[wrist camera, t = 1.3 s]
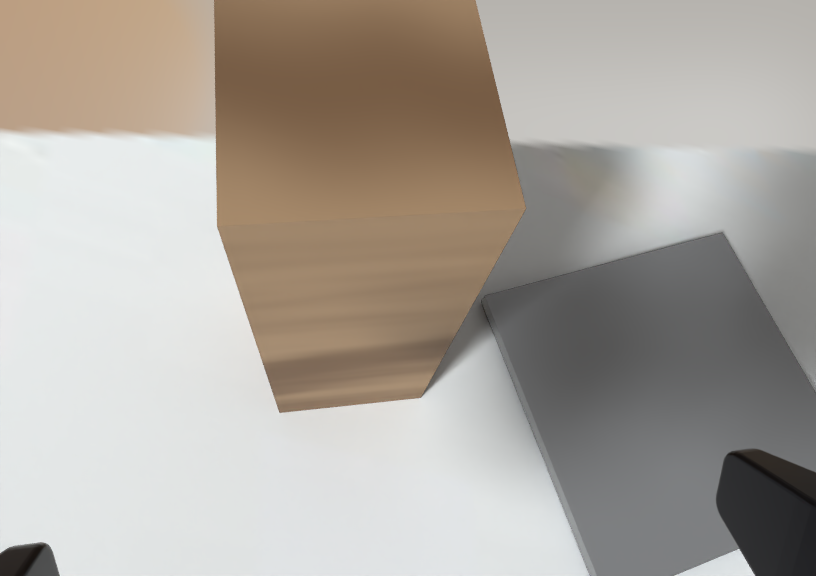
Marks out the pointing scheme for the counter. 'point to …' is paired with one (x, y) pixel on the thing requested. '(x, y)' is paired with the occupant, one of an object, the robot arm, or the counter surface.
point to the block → (358, 187)
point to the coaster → (652, 398)
